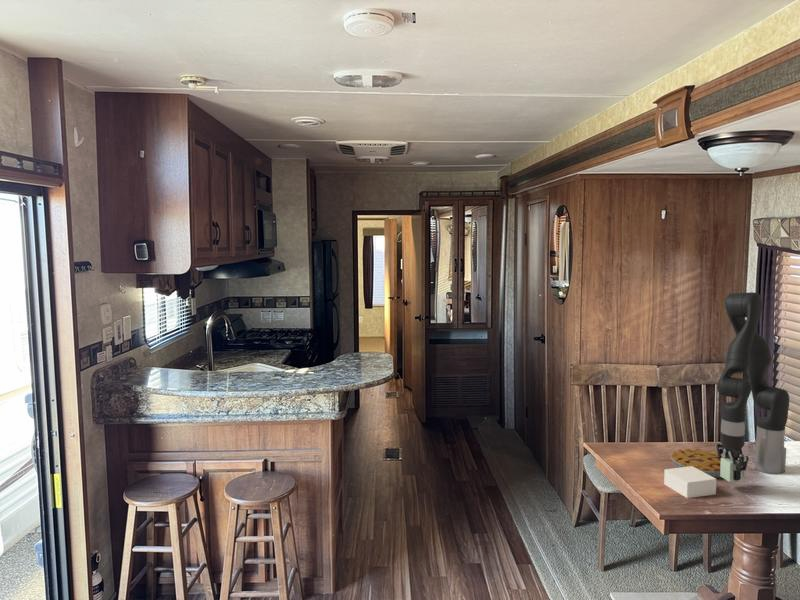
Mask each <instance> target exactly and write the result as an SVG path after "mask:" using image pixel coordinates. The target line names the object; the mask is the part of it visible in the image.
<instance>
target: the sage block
mask: <svg viewBox="0 0 800 600" xmlns="http://www.w3.org/2000/svg"><path fill="white" fill-rule="evenodd" d="M734 461H735V462H736V461H738V460H734ZM736 466H737V467H738V464H736ZM742 467H743V466H742ZM733 473H734V468H733V464H732V463H731V460H730V459H729V458H721V467H720V476H721V477H720V478H723V480H725V481H727V482H730V483H733V482H736V481H735V480H734V479H733ZM743 475H744V471H741V479H740V480H738V481H737V482H742V481H743Z"/></svg>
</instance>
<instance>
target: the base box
mask: <svg viewBox="0 0 800 600" xmlns="http://www.w3.org/2000/svg"><path fill="white" fill-rule="evenodd" d="M663 478H664V479H663V480H664V481H663V482H664V483H663V485H664V486H666V487H668V488H669V489H671V490H673V491H674V492H676V493H678V494H680V495H681V496H683V497H685V498H686V499H690V498H691V499H692V498H699V497H705V496H706V497H707V496H713V495H717V478H714V477H712V476H710V475H708V474H706V473H704V472H702V471H700V470H699V469H697V468H695V467H693V466H689V467H681V468H677V467H675V468H667V469H666V468H665V469H664V474H663Z"/></svg>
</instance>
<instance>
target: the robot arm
mask: <svg viewBox="0 0 800 600" xmlns="http://www.w3.org/2000/svg"><path fill="white" fill-rule="evenodd" d="M724 306H725V307H724V308H725V311H726V314H727V316H728V319H729V321H730V323H731V325H732V328H733V331H734V333H735V335H736V336H735V337H734V338H733V339H732V341H731V342H730V343H729V346H728V348H727V355H726V359H725V364H724V365H725V366H724V369H723V371H722V373H721V375H720V377H719V379H718V381H717V382H716V390H717V393H718V394H719V395H721V396H723V397H730V398H737V399H738V401H732V402H731V401H730V402H724V403H723V404H722V408H721V422H720V438H719V439H720V443H717V444H716V452H717V453H718V459H719V460H721V458H729V459H730V460H731V463H732V464H733V468H734V473H733V479H734V480H735V482H739V481H738V480H740V479H741V471H743V472H745V471H747V467H748V463H749V456H748V455H744V454H743V449H742V448H744V446H745V439H746V436H745V435H746V434H745V433H746V425H745V419H746V415H745V412H746V406H747V403H748V400H749V398H750V395H751V397H752V399H753V403H754V404H755V406H757V407H758V408H761V409H763V410H767V411H769V412H770V415H769V416H761V417H759V418H757V421H756V436H755V437H756V440H755V459H754V468H755V469H756V470H757V471H760V472H762V473H766V474H770V475H771V474H772V475H778V474H782V473H783V472H784V473H785V472H786V463H787V462H786V461H787V448H786V447H785V437H786V436H785V435H786V425H787V422H788V417H789V408H790V395H789V393H788V392H789V391H787V390H786V389H783V388H778V387H774V386H770V385H769V384H768V382H767V380H766V372H768V371H767V370H768V369H769V367H770V366H771V363H772V354H771V350H770V347H769V344H768V342H767V340H766V339H765V338H764V337H763V336H762V335H761V334H759V333H758V332H757V329H758V326H759V322H760V318H761V315H762V311H763V299H762V296H761V295H760V294H759V293H757V292H752V291H751V292H733V293H732V292H731V293H728V294H727V295H726V297H725V299H724ZM746 372H747V375H748V378H749V379H745V378H740V377H733V376H734V375H735V374H741V373H746ZM717 453H716V454H717ZM721 456H722V457H721ZM734 460H738V461H736V462H735V461H734ZM736 464H738V467H737V466H736ZM742 466H743V467H742Z"/></svg>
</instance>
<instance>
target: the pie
mask: <svg viewBox="0 0 800 600" xmlns="http://www.w3.org/2000/svg"><path fill="white" fill-rule="evenodd" d="M721 457H722V455H721ZM670 458H671V460H672V461H673V464H674V466H675V468H681V467H689V466H693V467H695V468H697V469H699V470H700V471H702V472H704V473H706V474H708V475H710V476H712V477H714V478H716V479H717V478H722V477H721V476H720V467H721V460H719V459H718V453H713V452H712V451H709V450H707V451H706V450H705V451H704V450H701V449H698V448H696V449H691V448H685V449H684V450H683V449H678V450H677V451H674V452H672V454H671V455H670Z"/></svg>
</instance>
